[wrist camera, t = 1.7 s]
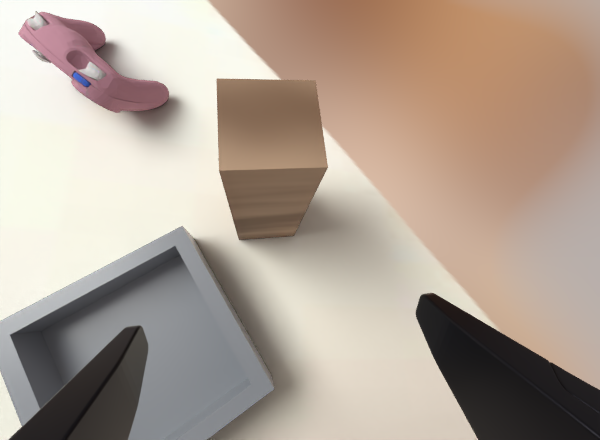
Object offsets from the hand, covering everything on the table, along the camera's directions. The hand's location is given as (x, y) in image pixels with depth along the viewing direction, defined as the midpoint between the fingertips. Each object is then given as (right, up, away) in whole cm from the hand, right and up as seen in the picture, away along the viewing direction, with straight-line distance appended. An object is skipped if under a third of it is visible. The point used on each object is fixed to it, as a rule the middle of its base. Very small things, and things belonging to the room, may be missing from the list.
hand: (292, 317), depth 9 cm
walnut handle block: (-3, +4, +15) cm, 16 cm away
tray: (-10, -6, +11) cm, 16 cm away
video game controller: (-17, +15, +17) cm, 28 cm away
